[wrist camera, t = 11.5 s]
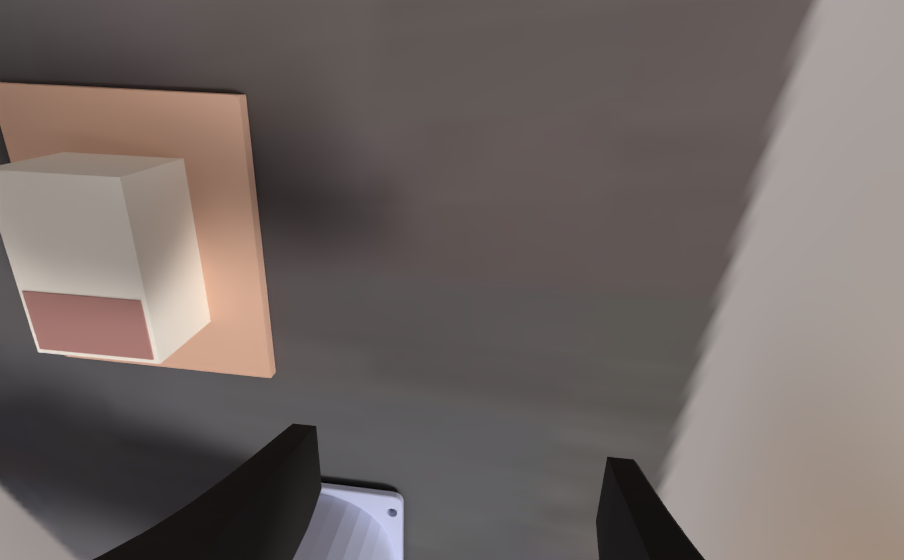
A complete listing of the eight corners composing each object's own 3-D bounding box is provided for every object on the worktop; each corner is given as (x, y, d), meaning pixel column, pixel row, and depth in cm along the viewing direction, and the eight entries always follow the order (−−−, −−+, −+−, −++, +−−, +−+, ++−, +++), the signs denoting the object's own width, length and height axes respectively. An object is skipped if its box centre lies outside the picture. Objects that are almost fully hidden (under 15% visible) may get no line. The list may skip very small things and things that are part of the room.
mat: (275, 372, 24) (270, 378, 24) (74, 351, 25) (65, 356, 25) (245, 94, 20) (239, 95, 19) (0, 82, 21) (-13, 82, 20)
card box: (183, 158, 20) (118, 177, 17) (210, 321, 23) (158, 365, 20) (63, 151, 21) (-22, 169, 18) (104, 312, 24) (36, 353, 20)
